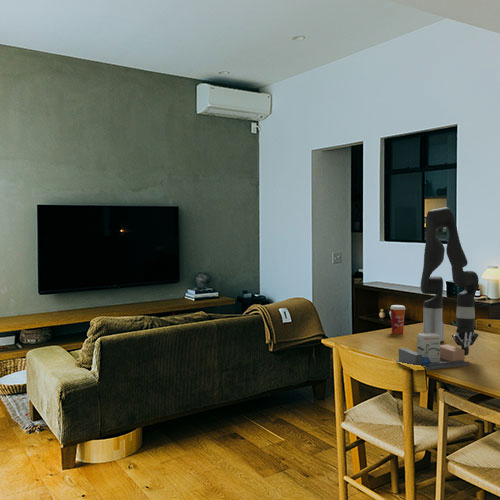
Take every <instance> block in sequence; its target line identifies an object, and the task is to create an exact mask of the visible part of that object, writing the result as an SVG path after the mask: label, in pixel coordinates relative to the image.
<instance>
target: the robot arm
mask: <svg viewBox="0 0 500 500" xmlns="http://www.w3.org/2000/svg"><path fill="white" fill-rule="evenodd" d="M425 223H426V224H425V225H426V227H425V229H426V231H425V232H426V233H425V247H424V253H423V254H424V255H423V269H422V274H421V279H420V291H421V293H422V294H423V295H435V296H433V297H432V298H430V299H427V300H424V302H423V303H422V304H423V306H422V307H423V309H422V310H423V313H422V314H423V316H422V317H423V319H422V321H423V322H422V327H423V328H422V333H436V334H438V335H440V343H441V342H443V341H444V339H445V336H444V335H445V331H444V328H445V323H444V321H443V295H444V294H443V293H444V280H443V277H441V276H438V275H437V276H436V275H435V276H433V275H432V273H433V272H434V271H436V270H437V269H438V267H440V266H441V265H442V263H443V262H444V259H445V252H446V256H447V258H448V261H449V263H450V266H451V274H452V282H453V283H454V285H455V286H456V287H458V288H464V289H463V291H460V292H459V293H458V294H457V296H456V311H455V320H456V321H455V323H456V324H455V326H456V330H455V331H456V333H454V334H451V338H452V339H453V340H454V342H455V343H456V345H457V346H459V347H460V349H463V350H465V353H464V357H465V356H469V351H470V347H471V346H473V345H474V344H475V342H476V340H477V339H478V337H479V333H477V332H475V329H474V328H475V323H476V322H475V321H476V319H475V317H476V316H475V314H476V313H475V311H476V310H475V297H476V293H477V290H478V287H479V281H480V280H479V279H480V278H479V276H478V274H477V272H476V271H473V270H465V271H464V268H465V267H467V266H468V264H469V262H468V259H467V256H466V254H465V251H464V250H463V247H462V243H461V241H460V237H459V231H458V227H457V224H456V220H455V217H454V214H453V211H452V209H450V208H449V207H447V206H445V207H440V208H435V209H430V210H429V211H427V213H426V221H425ZM443 228H446V229H447V230H448V239H447V243H446V249H445V246H444V244H443V242H442V241H441V239H439V237H438V235H437V230H438V229H439V230H440V229H443ZM431 275H432V276H431Z"/></svg>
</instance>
